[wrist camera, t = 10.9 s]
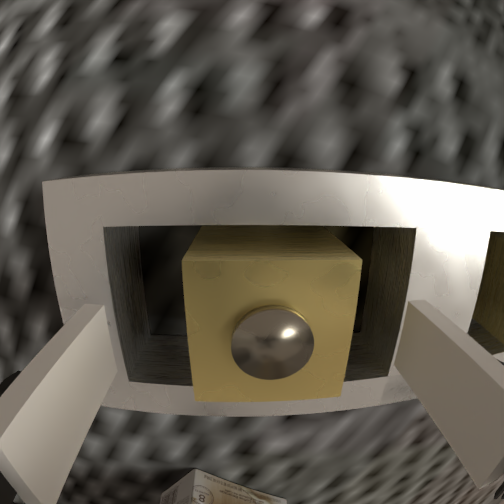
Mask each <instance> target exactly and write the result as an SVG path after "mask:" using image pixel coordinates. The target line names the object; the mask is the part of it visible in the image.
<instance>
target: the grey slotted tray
mask: <svg viewBox="0 0 504 504" xmlns="http://www.w3.org/2000/svg"><path fill="white" fill-rule="evenodd" d="M42 186H43V201H44V213H45V223H46V231H47V239H48V247H49V253H50V260H51V266H52V272H53V277H54V283H55V288H56V293H57V298H58V302H59V307H60V311H61V315H62V320H63V324H64V325H65V324H66V323H67V322H68V321H69V320H70V319H71V318H72V317H73V315H74V314H75V313H76V312H77V311H78V310H79V309H80V308H81V307H82V306H83V305H84V304H98V305H104V307H105V313H106V318H107V324H108V329H109V334H110V339H111V344H112V349H113V353H114V358H115V362H116V366H117V370H118V372H117V374H116V376H115V378H114V379H113V381H112V383H111V385H110V387H109V389H108V391H107V393H106V395H105V397H104V399H103V401H102V403H101V405H100V406H106V407H113V408H120V409H127V410H135V411H144V412H154V413H166V414H179V415H197V416H279V415H297V414H311V413H322V412H332V411H341V410H349V409H357V408H364V407H371V406H377V405H383V404H389V403H395V402H400V401H405V400H410V399H415V398H417V396H416V395H415V394H414V392H413V391H412V389H411V388H410V387H409V385H408V384H407V382H406V381H405V380H404V378H403V377H402V375H401V374H400V373H399V371H398V370H397V369H396V367H395V366H394V362H395V358H396V354H397V350H398V346H399V342H400V338H401V333H402V329H403V324H404V319H405V314H406V309H407V304H408V301H413V300H426V301H427V302H429V303H430V304H431V305H432V306H434V307H435V308H436V309H437V310H439V311H440V312H441V313H442V314H444V315H445V316H446V317H447V318H449V319H450V320H451V321H452V322H453V323H455V324H456V325H457V326H458V327H459V328H461V329H462V330H463V331H464V332H465V333H467V334H468V335H469V336H470V337H471V338H473V339H474V340H475V341H476V342H477V343H478V344H480V345H481V346H482V347H483V348H484V349H485V350H487V351H488V352H489V353H490V354H491V355H492V356H493V357H495V358H496V359H498V360H500V361H502V362H504V344H503V343H501V342H500V341H499V340H498V339H497V338H496V337H494V336H493V335H492V334H491V333H490V332H489V331H487V330H486V329H485V328H484V327H482V326H481V325H480V324H479V323H478V322H476V321H475V320H474V319H473V320H471V319H472V315H473V312H474V308H475V304H476V300H477V296H478V292H479V288H480V283H481V279H482V274H483V269H484V264H485V259H486V254H487V248H488V242H489V235H490V231H498V232H504V189H499V188H494V187H488V186H481V185H475V184H469V183H462V182H455V181H447V180H440V179H432V178H423V177H414V176H405V175H395V174H384V173H372V172H359V171H344V170H326V169H304V168H267V167H213V168H176V169H154V170H137V171H122V172H109V173H97V174H87V175H80V176H74V177H67V178H61V179H55V180H49V181H43V182H42ZM167 225H321V226H371V227H374V232H373V242H372V252H371V261H370V269H369V277H368V285H367V292H366V299H365V305H364V312H363V318H362V324H361V330H360V332H357V333H352V339H351V345H350V351H349V356H348V361H347V367H346V372H345V377H344V382H343V386H342V391H341V396H340V397H331V398H320V399H308V400H292V401H271V402H202V401H195V398H194V390H193V382H192V373H191V365H190V356H189V346H188V336H168V335H150V328H149V321H148V314H147V306H146V298H145V290H144V281H143V272H142V262H141V251H140V238H139V226H167Z"/></svg>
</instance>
